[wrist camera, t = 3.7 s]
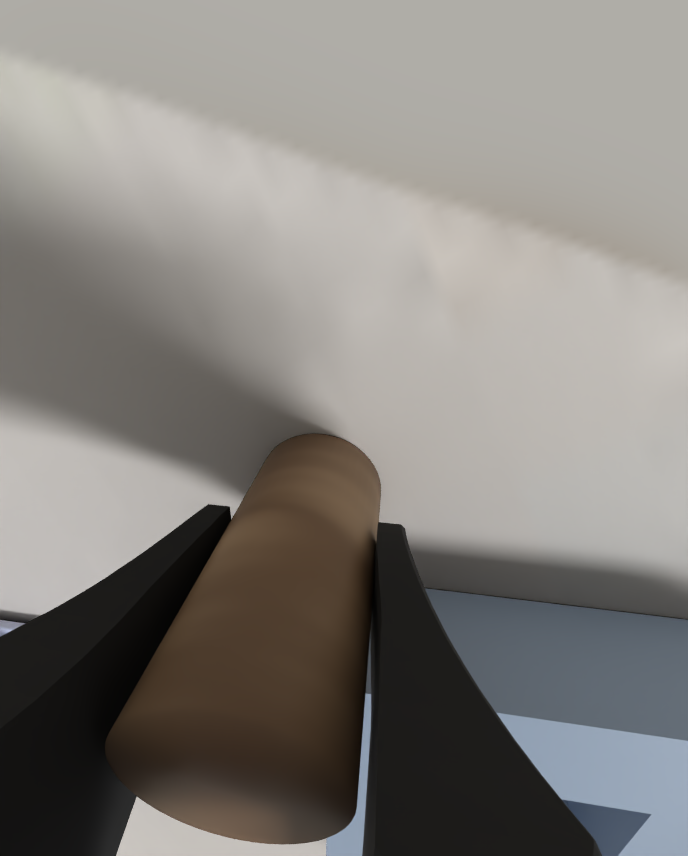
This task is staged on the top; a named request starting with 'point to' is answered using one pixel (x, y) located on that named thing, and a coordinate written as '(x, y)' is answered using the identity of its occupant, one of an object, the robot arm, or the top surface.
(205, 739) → the peg
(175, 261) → the top surface
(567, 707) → the socket
